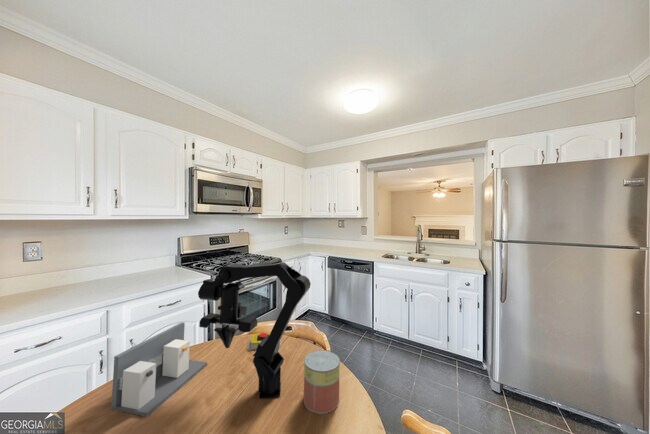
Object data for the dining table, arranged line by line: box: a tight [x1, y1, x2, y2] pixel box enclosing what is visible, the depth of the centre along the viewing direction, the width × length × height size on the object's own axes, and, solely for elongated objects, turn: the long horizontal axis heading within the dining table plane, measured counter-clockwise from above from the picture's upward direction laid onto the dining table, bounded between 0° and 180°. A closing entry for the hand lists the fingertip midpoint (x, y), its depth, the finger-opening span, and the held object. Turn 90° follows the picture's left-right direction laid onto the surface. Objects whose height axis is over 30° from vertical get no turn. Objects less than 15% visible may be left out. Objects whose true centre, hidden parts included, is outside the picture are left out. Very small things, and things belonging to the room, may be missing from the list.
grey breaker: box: [121, 361, 156, 410], centre depth 68 cm, size 7×5×10 cm
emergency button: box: [247, 332, 271, 351], centre depth 105 cm, size 9×4×15 cm
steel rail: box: [118, 353, 163, 390], centre depth 77 cm, size 1×23×3 cm, turn 170°
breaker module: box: [162, 339, 191, 378], centre depth 81 cm, size 7×5×10 cm
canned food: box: [303, 349, 341, 415], centre depth 71 cm, size 11×11×12 cm
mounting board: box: [110, 321, 208, 418], centre depth 77 cm, size 12×24×15 cm, turn 170°
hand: (227, 347), depth 78 cm, fingers closed
